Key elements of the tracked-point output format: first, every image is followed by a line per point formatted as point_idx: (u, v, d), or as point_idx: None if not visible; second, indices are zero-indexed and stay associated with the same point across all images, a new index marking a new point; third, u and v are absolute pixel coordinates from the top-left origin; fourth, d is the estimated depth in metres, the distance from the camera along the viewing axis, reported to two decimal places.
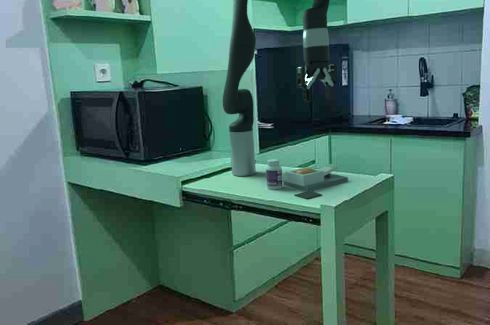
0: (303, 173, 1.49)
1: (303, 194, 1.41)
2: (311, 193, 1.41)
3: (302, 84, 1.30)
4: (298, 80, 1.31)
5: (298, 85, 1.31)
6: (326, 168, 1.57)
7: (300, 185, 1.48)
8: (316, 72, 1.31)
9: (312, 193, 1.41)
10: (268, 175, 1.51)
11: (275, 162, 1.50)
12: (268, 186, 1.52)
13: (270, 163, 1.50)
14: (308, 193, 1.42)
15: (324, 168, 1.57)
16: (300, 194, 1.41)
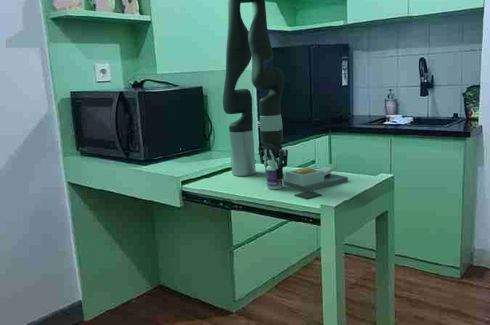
0: (303, 173, 1.49)
1: (303, 194, 1.41)
2: (311, 193, 1.41)
3: None
4: None
5: (282, 165, 1.47)
6: (326, 168, 1.57)
7: (300, 185, 1.48)
8: None
9: (312, 193, 1.41)
10: (268, 175, 1.51)
11: None
12: (268, 186, 1.52)
13: (270, 163, 1.50)
14: (308, 193, 1.42)
15: (324, 168, 1.57)
16: (300, 194, 1.41)
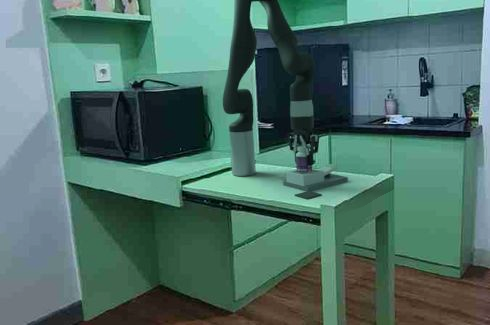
0: None
1: (303, 194, 1.41)
2: (311, 193, 1.41)
3: None
4: None
5: (314, 151, 1.45)
6: (326, 168, 1.57)
7: (300, 185, 1.48)
8: None
9: (312, 193, 1.41)
10: (298, 161, 1.49)
11: None
12: (298, 173, 1.50)
13: (300, 149, 1.49)
14: (308, 193, 1.42)
15: (324, 168, 1.57)
16: (300, 194, 1.41)
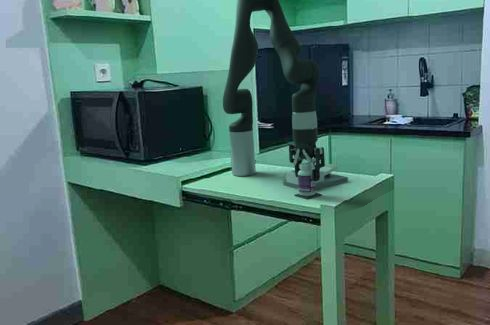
0: None
1: None
2: None
3: None
4: None
5: (320, 165, 1.33)
6: (326, 168, 1.57)
7: None
8: None
9: None
10: (300, 180, 1.38)
11: (308, 166, 1.37)
12: (300, 192, 1.39)
13: (303, 167, 1.37)
14: None
15: (324, 168, 1.57)
16: None
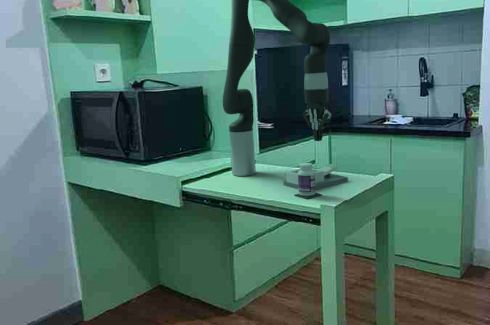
0: None
1: None
2: None
3: None
4: None
5: (322, 126, 1.44)
6: (326, 168, 1.57)
7: None
8: None
9: None
10: (300, 180, 1.38)
11: (308, 166, 1.37)
12: (300, 192, 1.39)
13: (303, 167, 1.37)
14: None
15: (324, 168, 1.57)
16: None
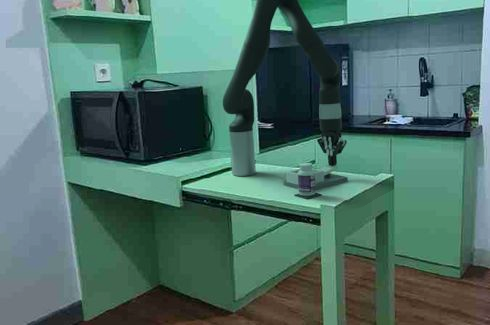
0: None
1: None
2: None
3: None
4: None
5: (337, 152, 1.54)
6: (326, 168, 1.57)
7: None
8: None
9: None
10: (300, 180, 1.38)
11: (308, 166, 1.37)
12: (300, 192, 1.39)
13: (303, 167, 1.37)
14: None
15: (324, 168, 1.58)
16: None
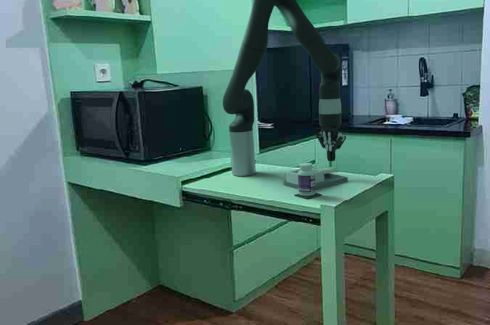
0: None
1: None
2: None
3: None
4: None
5: (336, 147, 1.55)
6: (326, 168, 1.57)
7: None
8: None
9: None
10: (300, 180, 1.38)
11: (308, 166, 1.37)
12: (300, 192, 1.39)
13: (303, 167, 1.37)
14: None
15: (324, 168, 1.58)
16: None
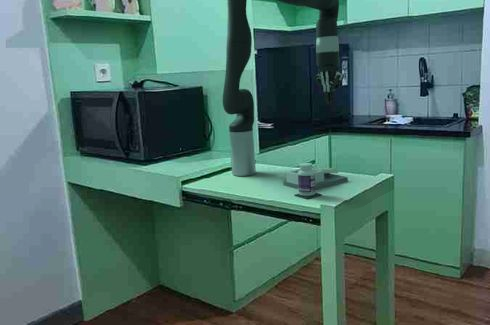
0: None
1: None
2: None
3: None
4: None
5: (334, 87, 1.50)
6: (327, 168, 1.57)
7: None
8: None
9: None
10: (300, 180, 1.38)
11: (308, 166, 1.37)
12: (300, 192, 1.39)
13: (303, 167, 1.37)
14: None
15: (325, 168, 1.58)
16: None
